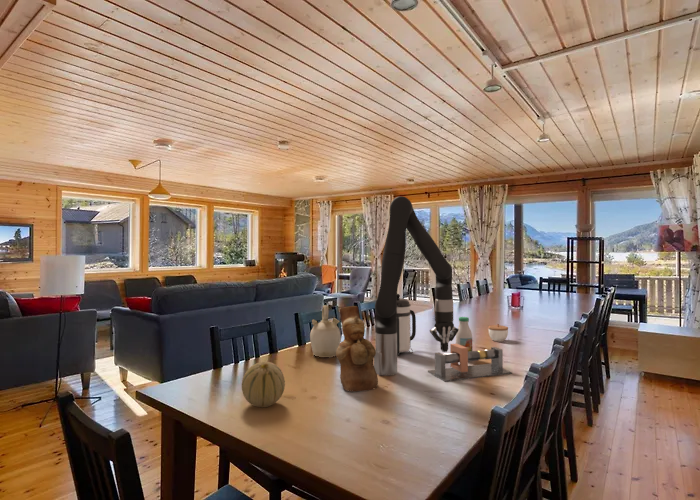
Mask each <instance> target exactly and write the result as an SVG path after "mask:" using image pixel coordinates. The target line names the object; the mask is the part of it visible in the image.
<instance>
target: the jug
mask: <svg viewBox="0 0 700 500" xmlns="http://www.w3.org/2000/svg"><path fill="white" fill-rule="evenodd" d="M321 312H322V313H321V318H322V319H321V320H320V322H318V320H316V319H314V318H313V319H312V320H311V325H313V326H312V329H311V330H310V334H309V339H310V340H309V341H310V345H311V350H312V353H313V356H314V355H315V356H319V357H329V358H334V357H336V351H337V348H338V346H339V344H340V343H341V330H340V328H339V327H338V324H339V323H340V322H341V320H339V319H337V318H336V317H333V318H332V321H330V320H329V306H328V305H327V304H325V305H322V309H321ZM315 356H314V357H315ZM333 356H334V357H333ZM319 357H318V358H319Z"/></svg>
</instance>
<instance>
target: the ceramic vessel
mask: <svg viewBox="0 0 700 500" xmlns="http://www.w3.org/2000/svg"><path fill="white" fill-rule="evenodd" d="M339 315H340V322H341V330H342V334H343V336H344V337H343V338H344V339H343V341H340V344H339V346H338V348H337V351H336V356H335V357H336V359H337V360H338V362H339V366H340V370H339V371H340V372H339V373H340V375H339V378H340V379H339V380H340V384H341V386H342V388H343V389H344V390H345V391H347V392H364V391H365V392H366V391H371V390H374V389H376V388H377V387H378V384H379V378H378V374H377V373H376V371H375V368H374V356H375V354H376V350H375V349H376V347H375V346H374V345H373V343H372V342H371V341H370V340H369V339H366V338H365V332H366V328H365V322H364V321H363V320H362V319H361V317H360V310H359V307H358V306H357V305H352V306H344V307H341V308H339Z"/></svg>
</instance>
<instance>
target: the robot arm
mask: <svg viewBox="0 0 700 500" xmlns="http://www.w3.org/2000/svg"><path fill="white" fill-rule="evenodd" d="M407 231H408V233H409V234H410V236H411V238H412V240H413V241H414V243H415V245H416V247H417V248H418V250H419V252H420V253H421V254H422V256H423V258H424V259H425V260H426V261H427V262H428V264H429V266H430V268H431V270H432V271H433V273H434V275H435V288H434V293H435V294H434V298H435V300H434V321H435V322H434V327H433V328H432V329H429V333H430V334H431V336H432V337H433V338H434V340H435V341H437V342H439V343H440V344H439V345H440V350H441V352H442V353H447V352H448V350H449V342H453V340H455V338H456V334H457V332H458V331H459V329H458V327H456V326H455V324H454V302H453V297H454V296H453V295H454V294H453V286H452V285H453V283H452V282H453V266H452V265H451V264H450V263H449V262H448V261H447V259H446V258H445V257H444V255H443V254H442V251H441V250H440V248H439V246H438V245H437V243H436V242H435V241H434V239H433V237H432V236H431V235H430V234H429V232H428V231H427V230H426V229H425V227H424V226H423V224H422V223H421V222H420V220H419V218H418V216H417V214H416V211H415V210H414V207H413V204H412V202H411V200H410V199H409V198H407V197H406V196H402V195H401V196H400V195H399V196H397V197H394V198H393V199H392V201H391V203H390V206H389V221H388V229H387V235H386V238H385V243H384V247H383V254H382V259H381V266H380V267H381V269H380V284H379V290H378V294H377V297H376V300H375V304H374V311H375V326H374V327H375V329H374V330H375V331H374V333H375V339H374V340H375V350H376V354H375V356H374V358H373V365H374V368H375V371H376V374H377V376H386V377H387V376H395V375H397V374H398V356H397V294H398V288H399V283H400V279H401V276H402V272H403V269H404V264H405V258H406V250H407V249H406V248H407V247H406V245H407V244H406V243H407V242H406V240H407V238H406V237H407V235H406V234H407Z"/></svg>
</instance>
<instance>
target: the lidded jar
mask: <svg viewBox="0 0 700 500" xmlns="http://www.w3.org/2000/svg"><path fill="white" fill-rule="evenodd" d="M488 335H489V338H490V339H491V340H492V341H493V342H500V343H501V342H504V341H505V340H506V339H507V337H508V335H509V327H508V326H506V325H500V324H499V323H497V324H494V325H493V324H492V325H488Z"/></svg>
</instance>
